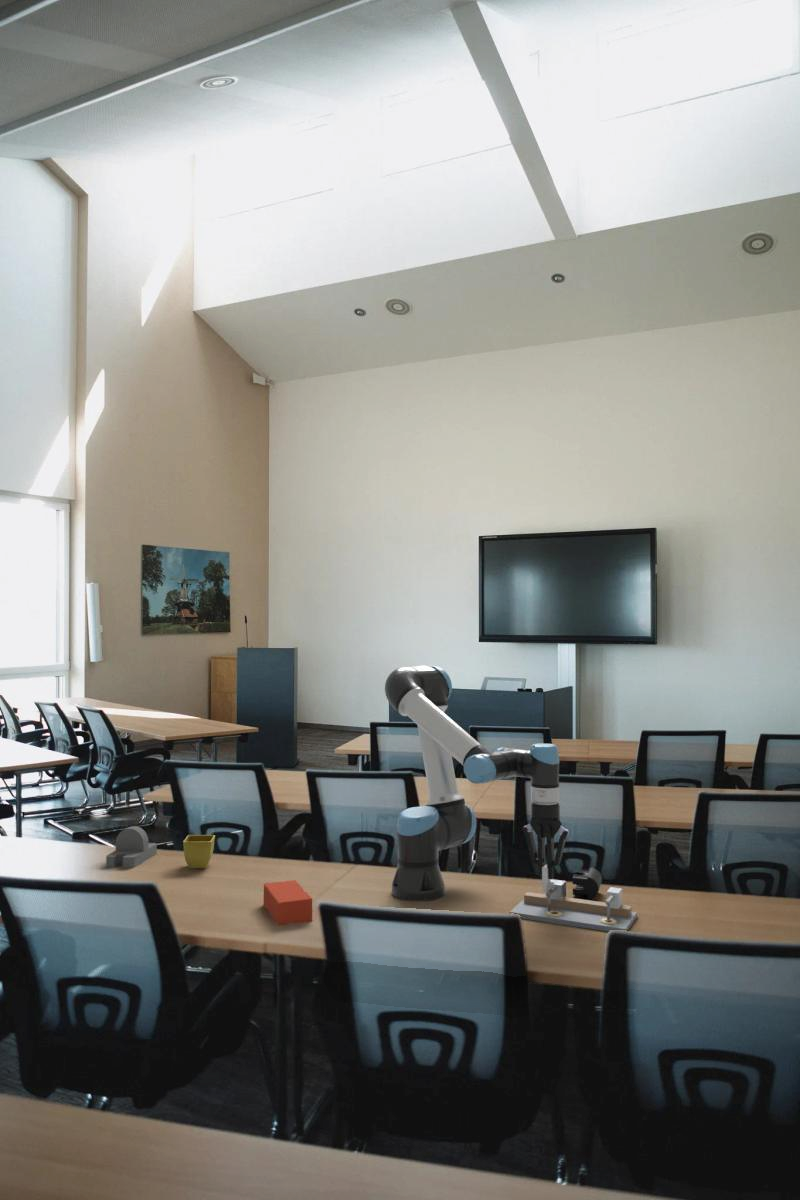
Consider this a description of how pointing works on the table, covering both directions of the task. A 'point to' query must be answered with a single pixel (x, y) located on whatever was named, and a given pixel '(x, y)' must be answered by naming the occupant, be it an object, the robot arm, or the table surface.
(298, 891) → the brick
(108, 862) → the bracket
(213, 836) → the flower pot
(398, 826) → the robot arm
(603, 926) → the board
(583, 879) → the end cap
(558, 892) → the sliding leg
